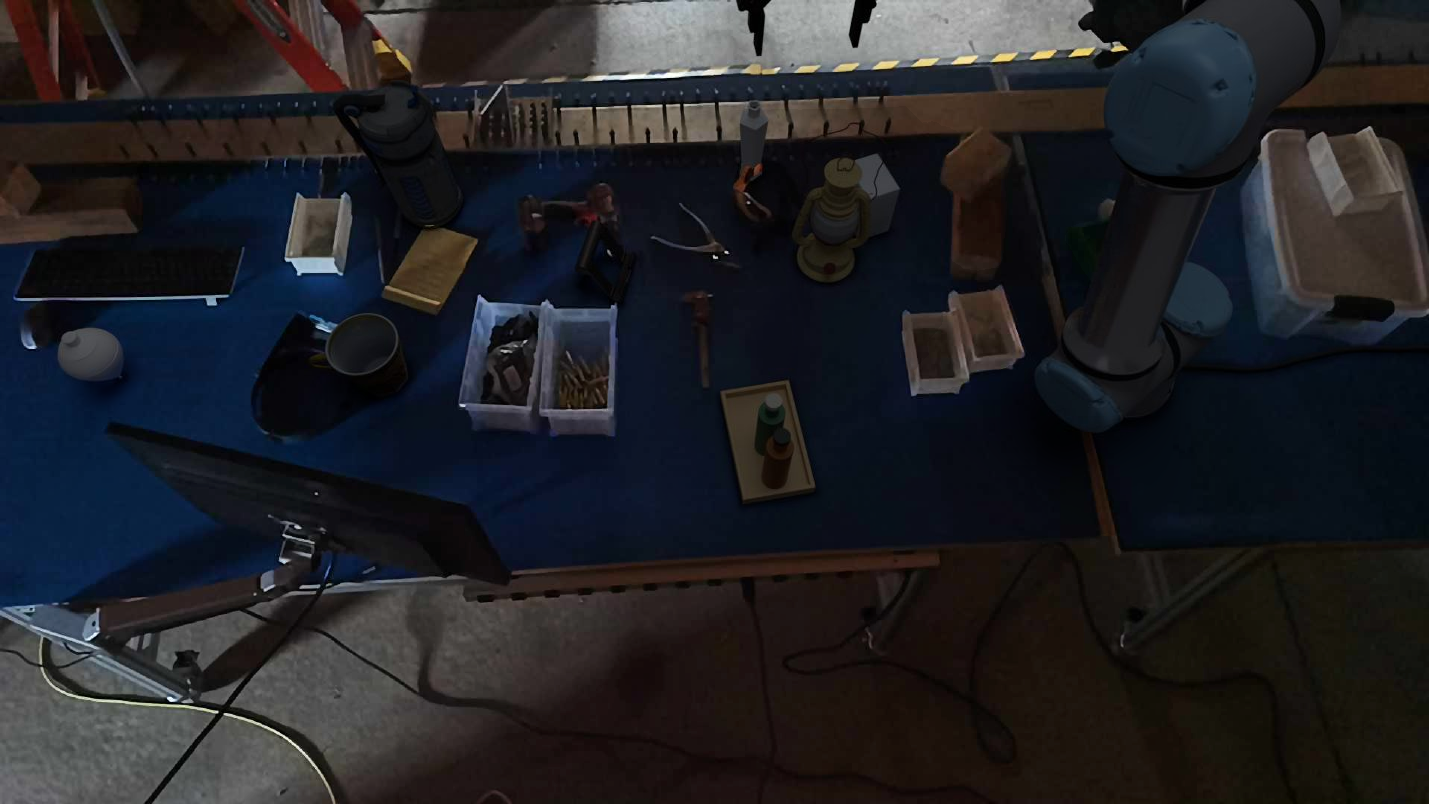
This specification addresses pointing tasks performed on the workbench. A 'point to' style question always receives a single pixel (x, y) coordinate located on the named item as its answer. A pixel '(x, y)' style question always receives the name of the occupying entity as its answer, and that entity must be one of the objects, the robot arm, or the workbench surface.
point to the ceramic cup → (366, 354)
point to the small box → (878, 193)
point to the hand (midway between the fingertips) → (805, 45)
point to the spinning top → (91, 355)
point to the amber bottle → (777, 459)
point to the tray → (742, 431)
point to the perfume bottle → (752, 135)
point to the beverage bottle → (404, 150)
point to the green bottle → (768, 421)
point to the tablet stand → (589, 268)
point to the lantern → (833, 220)
